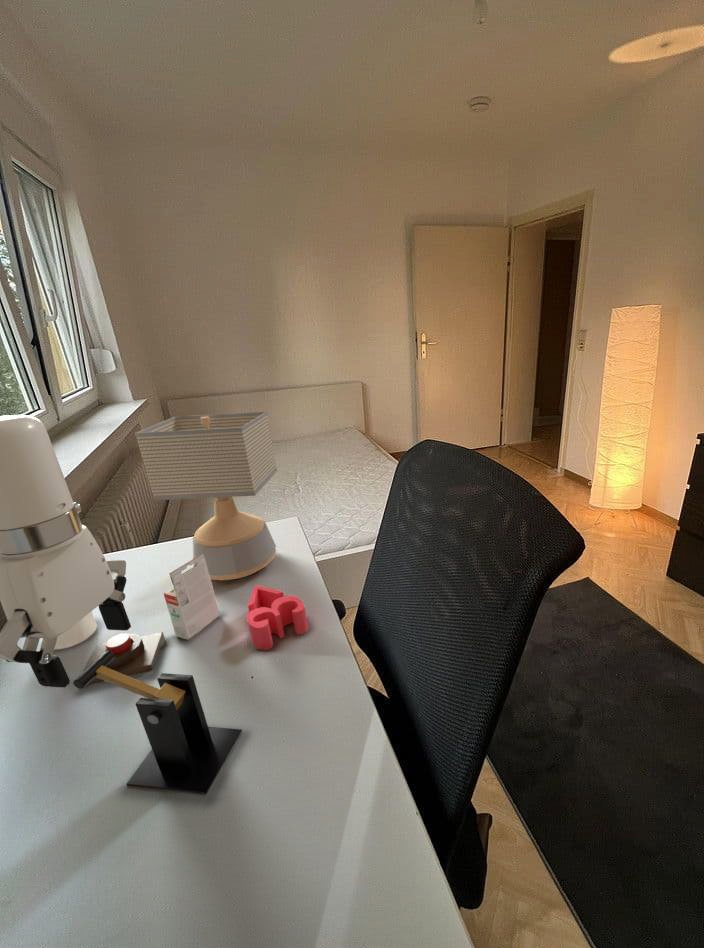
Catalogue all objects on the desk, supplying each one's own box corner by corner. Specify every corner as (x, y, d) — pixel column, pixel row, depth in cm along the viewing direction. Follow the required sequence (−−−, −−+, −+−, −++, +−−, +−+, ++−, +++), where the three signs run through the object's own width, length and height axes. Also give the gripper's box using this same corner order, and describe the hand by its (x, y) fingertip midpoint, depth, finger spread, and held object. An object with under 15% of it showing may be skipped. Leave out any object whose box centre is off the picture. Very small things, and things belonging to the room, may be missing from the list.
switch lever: (71, 689, 54) (73, 675, 53) (103, 659, 58) (105, 646, 57) (164, 727, 54) (167, 714, 53) (188, 694, 58) (192, 682, 57)
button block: (81, 691, 73) (73, 672, 71) (100, 654, 81) (93, 637, 79) (154, 674, 75) (148, 656, 74) (165, 640, 83) (160, 623, 82)
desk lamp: (292, 545, 116) (268, 406, 103) (270, 586, 99) (237, 424, 85) (211, 548, 117) (177, 411, 104) (175, 589, 100) (128, 430, 86)
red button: (105, 657, 75) (102, 649, 74) (112, 643, 78) (109, 635, 77) (129, 652, 75) (126, 644, 75) (134, 639, 79) (132, 631, 78)
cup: (35, 646, 84) (2, 574, 78) (74, 619, 91) (47, 551, 85) (69, 652, 82) (38, 578, 76) (107, 623, 89) (81, 554, 83)
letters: (235, 615, 89) (230, 594, 87) (283, 596, 95) (280, 576, 93) (259, 653, 78) (253, 630, 77) (311, 629, 84) (307, 607, 82)
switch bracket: (129, 790, 56) (97, 715, 52) (172, 729, 65) (149, 660, 60) (208, 799, 55) (183, 723, 50) (243, 735, 63) (224, 664, 58)
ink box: (175, 636, 84) (154, 570, 79) (207, 612, 91) (191, 549, 86) (188, 641, 83) (169, 574, 77) (221, 616, 89) (205, 552, 84)
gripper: (74, 500, 57) (115, 610, 63) (-80, 572, 41) (-5, 710, 47) (126, 499, 56) (163, 612, 62) (-12, 574, 40) (56, 715, 46)
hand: (90, 654), depth 55 cm, fingers open, 9 cm apart
